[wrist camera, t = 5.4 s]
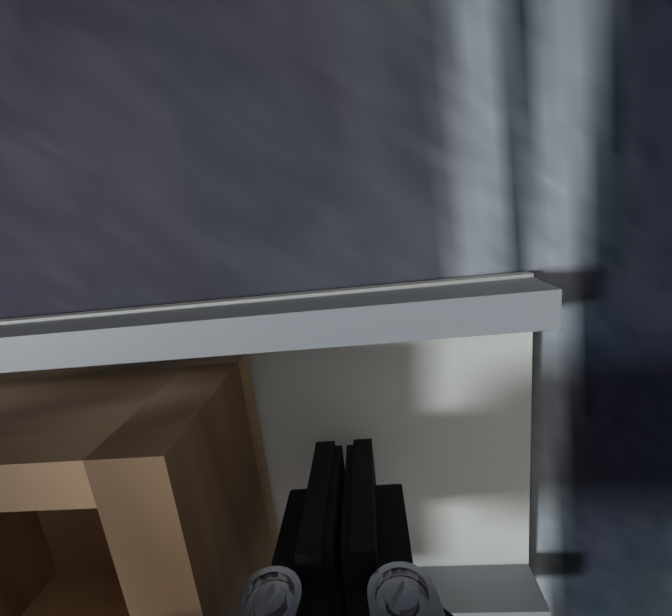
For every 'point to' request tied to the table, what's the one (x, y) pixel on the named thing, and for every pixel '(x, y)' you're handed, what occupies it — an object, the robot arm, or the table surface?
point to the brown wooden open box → (132, 489)
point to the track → (369, 401)
